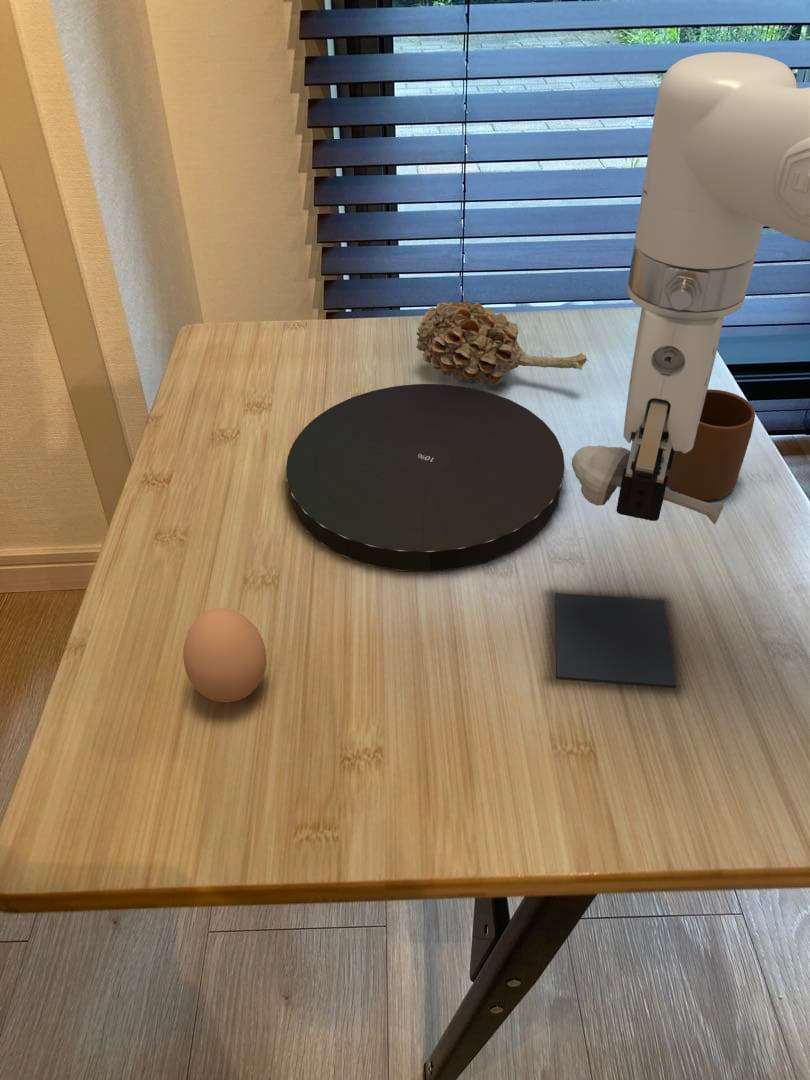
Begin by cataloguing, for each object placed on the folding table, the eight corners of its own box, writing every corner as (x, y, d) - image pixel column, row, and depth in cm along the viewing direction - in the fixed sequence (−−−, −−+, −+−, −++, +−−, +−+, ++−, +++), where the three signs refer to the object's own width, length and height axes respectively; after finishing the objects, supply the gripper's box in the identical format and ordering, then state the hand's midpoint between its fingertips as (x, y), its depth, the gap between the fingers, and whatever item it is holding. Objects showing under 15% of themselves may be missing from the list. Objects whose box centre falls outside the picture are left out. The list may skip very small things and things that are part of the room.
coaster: (663, 602, 79) (663, 600, 78) (675, 687, 71) (676, 685, 71) (554, 595, 80) (555, 592, 79) (556, 678, 72) (556, 676, 72)
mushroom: (727, 504, 60) (570, 444, 64) (701, 557, 63) (552, 497, 66) (737, 471, 66) (592, 417, 69) (713, 521, 69) (575, 467, 72)
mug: (614, 480, 92) (627, 407, 86) (634, 443, 97) (647, 372, 91) (726, 511, 88) (749, 436, 82) (741, 471, 93) (763, 398, 87)
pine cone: (407, 390, 107) (405, 318, 100) (426, 353, 114) (426, 283, 107) (582, 414, 102) (592, 340, 95) (591, 374, 109) (602, 302, 102)
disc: (243, 541, 86) (238, 519, 84) (344, 389, 107) (342, 368, 105) (533, 599, 79) (535, 576, 77) (580, 424, 100) (583, 402, 98)
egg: (288, 689, 72) (274, 616, 66) (224, 735, 69) (203, 663, 63) (242, 647, 76) (225, 574, 70) (179, 689, 72) (155, 617, 66)
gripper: (738, 344, 48) (678, 571, 60) (757, 229, 60) (704, 438, 72) (606, 325, 50) (574, 548, 62) (650, 217, 62) (616, 423, 74)
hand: (644, 487), depth 67 cm, fingers closed on mushroom, 5 cm apart
